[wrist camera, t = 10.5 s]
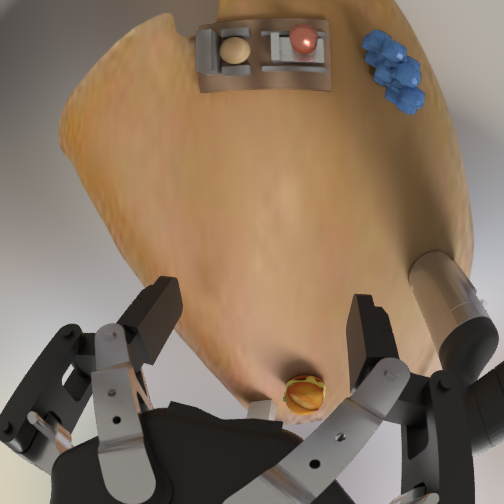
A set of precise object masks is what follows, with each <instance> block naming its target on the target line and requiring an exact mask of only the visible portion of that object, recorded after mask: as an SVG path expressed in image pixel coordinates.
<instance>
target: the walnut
mask: <svg viewBox="0 0 504 504" xmlns="http://www.w3.org/2000/svg"><path fill="white" fill-rule="evenodd" d="M250 51H251V49H250V45H249V44H248V42H247V41H246V40H244V39H242V38H239V37H231V38H228V39H226V40H225V41H224V42H223V43H222V44H221V46H220V50H219V52H220V56H221V58H222V59H223V60H224V61H226V62H227V63H230V64H239V63H242V62H244V61H245V60H246V59H247V58H248V57H249V55H250Z"/></svg>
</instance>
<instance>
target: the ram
mask: <svg viewBox="0 0 504 504" xmlns="http://www.w3.org/2000/svg"><path fill="white" fill-rule="evenodd" d="M271 60H272V62H273V63H274V64H282V63H306V64H323V65H324V44H323V39H318V33H317V31H316V29H315V28H314V27H312V26H310V25H308V24H297V25H295V26H293V27H292V28H291V29H290V32H289V37H280V35H279V33H271Z"/></svg>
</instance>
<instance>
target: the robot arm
mask: <svg viewBox="0 0 504 504" xmlns="http://www.w3.org/2000/svg"><path fill="white" fill-rule="evenodd" d="M409 284H410V287H411V289H412V291H413V293H414V295H415V298H416V300H417V302H418V305H419V307H420V309H421V312H422V314H423V317H424V319H425V322H426V324H427V327H428V329H429V332H430V334H431V337H432V340H433V342H434V345H435V348H436V351H437V353H438V356H439V359H440V362H441V365H442V369H443V370H439V371H436V372H434V373H433V374H432V375H431V377H430V378H429V377H425V376H421V375H417V374H414V373H411V372H410V370H409V368H408V366H407V365H406V364H405V363H404V362H403V361H401V360H400V359H399V355H398V351H397V347H396V343H395V339H394V335H393V333H392V327H391V325H390V320H389V317H388V314H387V313H386V312H385V311H384V309H383V308H382V307H375V306H374V302H373V298H372V296H371V295H366V294H354V296H353V300H352V304H351V308H350V312H349V316H348V320H347V327H346V336H347V347H348V360H349V375H350V393H353V394H352V395H351V396H350V397H349V398H346V399H345V400H343V401H342V403H341V404H340V405H339V406H338V407H337V408H336V409H335V410H334V411H333V412H332V413H331V414H330V415H329V416H328V417H327V418H326V419H325V421H324V422H323V423H322V424H321V425H320V426H319V427H318V428H317V429H316V430H314V431H313V432H312V433H311V434H310V436H308V437H307V438H306V439H305V440H303V439H302V438H301V437H299V436H298V435H296V434H294V433H292V432H290V431H288V430H285V429H282V425H283V422H282V421H272V420H264V419H256V418H249V419H231V420H230V419H229V420H223V419H220V418H218V417H215V416H213V415H211V414H209V413H207V412H205V411H203V410H201V409H199V408H196V407H192V406H189V405H185V404H180V403H177V402H173V401H171V403H170V404H169V407H168V408H157V409H154V408H153V405H152V403H151V400H150V396H149V393H148V390H147V386H146V382H145V378H144V374H143V370H142V368H141V367H142V365H143V364H144V363H146V364H150V365H153V364H154V362H155V361H156V359H157V357H158V355H159V353H160V352H161V350H162V348H163V346H164V344H165V342H166V341H167V339H168V337H169V335H170V334H171V332H172V330H173V329H174V327H175V325H176V323H177V321H178V320H179V318H180V316H181V314H182V310H183V303H182V298H181V293H180V289H179V284H178V280H177V278H175V277H167V276H160V277H159V278H158V279H157V281H156V282H155V283H154V284H153V285H149V286H148V287H146V288H145V289H143V290H142V291H141V292H140V293H139V295H138V296H137V297H136V299H135V300H134V301H133V302H132V304H131V305H130V306H129V307H128V308H127V310H126V311H125V312H124V314H123V315H122V316H121V317H120V319H119V320H118V322H117V323H116V324H114V323H111V324H107V325H104V326H102V327H101V328H100V329H99V330H98V331H97V332H96V333H83V332H82V330H81V328H80V327H79V325H77V324H68V325H66V326H63V327H62V328H61V329H60V330H59V331H58V332H57V333H56V334H55V336H54V337H53V338H52V340H51V341H50V342H49V343H48V345H47V346H46V348H45V349H44V350H43V352H42V353H41V354H40V356H39V357H38V358H37V360H36V361H35V362H34V364H33V365H32V367H31V368H30V370H29V371H28V372H27V374H26V375H25V377H24V378H23V380H22V381H21V383H20V384H19V386H18V387H17V389H16V390H15V392H14V393H13V395H12V397H11V398H10V400H9V401H8V403H7V405H6V406H5V408H4V409H3V411H2V413H1V414H0V441H2V442H3V443H4V444H6V445H7V446H8V447H9V448H11V449H12V451H14V452H15V453H16V454H18V455H19V456H20V457H22V458H23V459H25V460H26V461H28V462H29V463H31V464H34V465H35V466H37V467H38V468H40V469H41V470H43V471H45V472H46V473H48V474H49V475H51V482H52V491H51V500H50V504H355V503H354V501H353V500H352V499H351V498H350V496H349V495H348V494H347V493H346V492H345V491H344V489H343V488H342V487H341V485H340V484H339V483H338V482H337V480H336V477H337V476H338V475H339V474H340V473H341V472H342V471H343V470H344V469H345V468H346V467H347V466H348V464H349V463H350V462H351V461H352V460H353V458H354V457H355V456H356V455H357V454H358V453H359V451H360V450H361V449H362V448H363V447H364V445H365V444H366V443H367V442H368V440H369V439H370V437H371V436H372V435H373V434H374V432H375V431H376V430H377V428H378V427H379V426H380V424H381V423H382V421H383V420H385V421H389V422H393V423H397V424H401V433H402V434H401V437H402V480H401V495H400V496H398V497H396V498H395V499H393V500H392V501H391V502H390V504H475V482H474V467H473V457H474V456H477V455H479V454H481V453H483V452H485V451H487V450H489V449H491V448H492V447H494V446H496V445H497V444H499V443H500V442H502V441H503V440H504V361H503V362H501V363H500V364H499V365H497V366H496V367H495V369H492V370H491V371H490V372H488V373H487V374H485V375H484V376H483V377H481V378H480V379H479V380H477V379H478V377H479V375H480V373H481V371H482V370H483V368H484V367H485V366H486V364H487V363H488V362H489V360H490V359H491V357H492V356H493V354H494V353H495V351H496V348H497V346H498V341H499V336H498V331H497V329H496V327H495V325H494V324H493V322H492V320H491V319H490V317H489V315H488V313H487V312H486V310H485V309H484V307H483V305H482V304H481V302H480V301H479V299H478V298H477V296H476V289H475V287H474V286H473V285H472V283H471V282H470V280H469V279H468V277H467V276H466V275H465V273H464V272H463V271H462V269H461V268H460V267H459V265H458V264H457V263H456V261H455V260H451V259H450V258H449V257H448V255H447V254H445V253H443V252H441V251H432V252H429V253H426V254H424V255H423V256H421V257H420V258H419V259H418V260H417V261H416V262H415V263H414V265H413V266H412V268H411V271H410V274H409ZM70 364H72V366H73V367H74V370H73V371H72V373H71V375H70V376H69V377H68V379H67V381H66V382H65V384H64V385H63V386H62V377H63V375H64V373H65V372H66V370H67V369H68V367H69V366H70ZM92 393H93V401H94V410H95V417H96V424H97V430H98V436H96V437H94V438H92V439H90V440H88V441H86V442H84V443H81V444H79V445H77V446H75V447H73V445H72V444H71V433H72V431H73V429H74V427H75V425H76V423H77V421H78V419H79V417H80V416H81V414H82V412H83V410H84V408H85V406H86V404H87V402H88V401H89V398H90V397H91V395H92Z"/></svg>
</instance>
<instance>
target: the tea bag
mask: <svg viewBox="0 0 504 504" xmlns="http://www.w3.org/2000/svg"><path fill="white" fill-rule="evenodd" d="M276 411H277V405H276V403H275V402H274V401H273V400H272V399H271V400H263V401H254V402H250V406H249V410H248V415H247V418H246V419H249V418H256V419H264V420H272V421H275V417H276Z"/></svg>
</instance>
